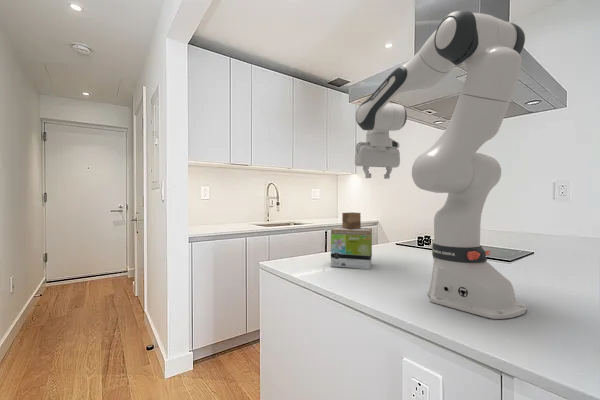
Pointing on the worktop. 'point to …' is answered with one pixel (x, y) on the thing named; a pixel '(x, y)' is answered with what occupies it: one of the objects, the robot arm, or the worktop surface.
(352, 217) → the walnut block
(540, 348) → the worktop surface
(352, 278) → the worktop surface
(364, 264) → the tea box
